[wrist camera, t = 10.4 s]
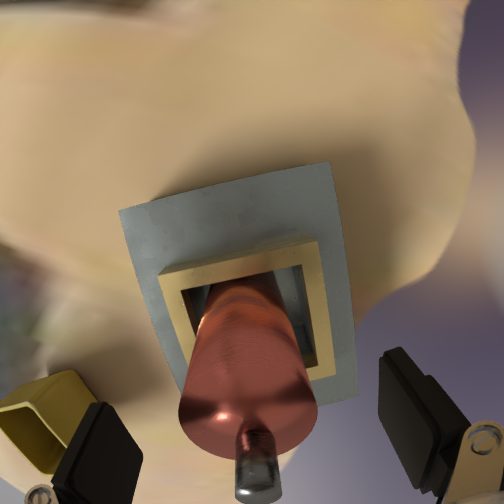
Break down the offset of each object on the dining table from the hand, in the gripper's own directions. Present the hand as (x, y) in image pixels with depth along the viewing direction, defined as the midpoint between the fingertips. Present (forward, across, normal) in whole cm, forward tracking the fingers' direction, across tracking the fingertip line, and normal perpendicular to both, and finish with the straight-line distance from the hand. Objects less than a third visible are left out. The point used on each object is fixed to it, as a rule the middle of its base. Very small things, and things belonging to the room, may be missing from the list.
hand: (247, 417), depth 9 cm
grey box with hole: (+15, 0, +1) cm, 15 cm away
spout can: (+13, 0, 0) cm, 13 cm away
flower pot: (+15, +21, +9) cm, 27 cm away
